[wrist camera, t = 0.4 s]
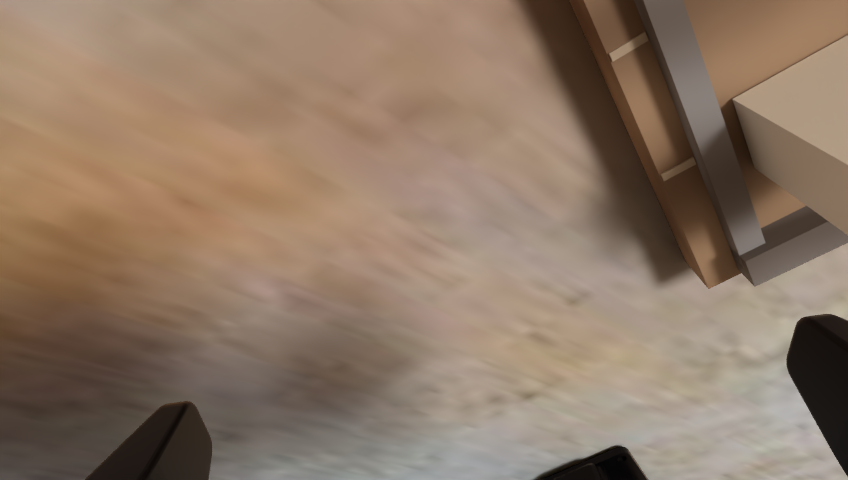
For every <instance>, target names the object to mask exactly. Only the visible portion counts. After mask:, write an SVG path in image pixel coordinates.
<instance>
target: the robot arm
mask: <svg viewBox="0 0 848 480" xmlns="http://www.w3.org/2000/svg"><path fill="white" fill-rule="evenodd" d="M787 369H788V372H789V374H790V376H791V378H792V380H793V382H794V384H795V385H796V387H797V389H798V391H799V393H800V394H801V396H802V398H803V400H804V402H805V403H806V405H807V407H808V409H809V411H810V412H811V414H812V416H813V418H814V420H815V421H816V423H817V425H818V427H819V428H820V430H821V432H822V434H823V436H824V437H825V439H826V441H827V443H828V445H829V446H830V448H831V450H832V452H833V454H834V455H835V457H836V459H837V460H838V462H839V464H840V465H841V467H842V469H843V470H844V472H845V473H846V475H847V476H848V321H847V320H845V319H843V318H840V317H838V316H835V315H832V314H823V315H815V316H808V317H803V318H801V319H800V320H799V321H798V322H797V324H796V327H795V330H794V334H793V337H792V341H791V344H790V347H789V351H788V354H787ZM211 456H212V442H211V438H210V435H209V433H208V431H207V429H206V427H205V425H204V422H203V420H202V418H201V416H200V414H199V412H198V410H197V408H196V406H195V405H194V404H193V403H192V402H189V401H184V402H177V403H170V404H165V405H163V406H161V407H160V408H159V409H157V410H156V411H155V412H154V413H153V414H152V415H151V416H150V417H149V418H148V419H147V420H146V421H145V422H144V423H143V424H142V425H141V426H140V427H139V428H138V429H137V430H136V431H135V432H134V433H133V434H132V435H131V436H130V437H128V438H127V439H126V440H125V441H124V442H123V443H122V444H121V445H120V446H119V447H118V448H117V449H116V450H115V451H114V452H113V453H112V454H111V455H110V456H109V457H108V458H107V459H106V460H105V461H104V462H103V463H102V464H101V465H100V466H99V467H98V468H96V469H95V470H94V471H93V472H92V473H91V474H90V475H89V476H88V477H87V478H86V479H85V480H208V479H209V471H210V464H211ZM543 480H648V478H647V477H646V476H645V474H644V473H643V471H642V470H641V468H640V467H639V465H638V464H637V462H636V461H635V459H634V458H633V456H632V455H631V453H630V452H629V450H628V449H627V448H625V447H618V448H615V449H613V450H610V451H608V452H606V453H603V454H601V455H599V456H596V457H594V458H592V459H589V460H587V461H585V462H582V463H580V464H578V465H575V466H573V467H571V468H568V469H566V470H564V471H561V472H559V473H557V474H554V475H552V476H550V477H547V478H545V479H543Z"/></svg>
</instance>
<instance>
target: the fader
mask: <svg viewBox="0 0 848 480" xmlns="http://www.w3.org/2000/svg"><path fill="white" fill-rule="evenodd" d="M732 100H733V103H734V106H735V109H736V112H737V115H738V118H739V121H740V124H741V127H742V130H743V134H744V137H745V140H746V143H747V146H748V149H749V152H750V155H751V158H752V161H753V164H754V168H755V169H757V170H758V171H759V172H761V173H762V174H763V175H765V176H766V177H768V178H769V179H770V180H772V181H773V182H775V183H776V184H777V185H779V186H780V187H781V188H783V189H784V190H786V191H787V192H788V193H790V194H791V195H793V196H794V197H795V198H797V199H798V200H800V201H801V202H802V203H804V204H805V205H806V206H808V207H809V208H811V209H812V210H813V211H815V212H816V213H818V214H819V215H820V216H822V217H823V218H824V219H826V220H827V221H829V222H830V223H831V224H833V225H834V226H836V227H837V228H838V229H840V230H841V231H843V232H844V233H845V234H847V235H848V35H847V36H845V37H843V38H841V39H840V40H838V41H836V42H834V43H832V44H831V45H829V46H827V47H825V48H823V49H822V50H820V51H818V52H816V53H814V54H813V55H811V56H809V57H807V58H805V59H804V60H802V61H800V62H798V63H796V64H795V65H793V66H791V67H789V68H787V69H786V70H784V71H782V72H780V73H778V74H777V75H775V76H773V77H771V78H769V79H768V80H766V81H764V82H762V83H760V84H759V85H757V86H755V87H753V88H751V89H750V90H748V91H746V92H744V93H742V94H741V95H739V96H737V97H735V98H733V99H732Z"/></svg>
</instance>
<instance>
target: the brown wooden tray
mask: <svg viewBox="0 0 848 480" xmlns="http://www.w3.org/2000/svg"><path fill="white" fill-rule="evenodd" d="M569 1H570V4H571V6H572V8H573V10H574V12H575V15H576V17H577V19H578V21H579V24H580V26H581V28H582V30H583V33H584V35H585V37H586V39H587V42H588V44H589V46H590V48H591V51H592V53H593V55H594V57H595V60H596V62H597V64H598V66H599V68H600V71H601V73H602V75H603V77H604V80H605V82H606V84H607V86H608V89H609V91H610V93H611V95H612V98H613V100H614V102H615V104H616V107H617V109H618V111H619V113H620V116H621V118H622V120H623V122H624V124H625V127H626V129H627V131H628V133H629V136H630V138H631V140H632V142H633V145H634V147H635V149H636V151H637V154H638V156H639V158H640V160H641V163H642V165H643V167H644V169H645V171H646V174H647V176H648V178H649V180H650V183H651V185H652V187H653V189H654V192H655V194H656V196H657V198H658V201H659V203H660V205H661V207H662V210H663V212H664V214H665V216H666V219H667V221H668V223H669V225H670V227H671V230H672V232H673V234H674V236H675V239H676V241H677V243H678V245H679V248H680V250H681V252H682V254H683V257H684V259H685V261H686V263H687V264H688V265H689V266H690V267H691V268H692V270H693V271H694V272H695V273H696V274H697V276H698V277H699V278H700V279H701V280H702V282H703V283H704V284H705V285H706V286H707V287H708V289H709V288H711V287H713V286H716V285H718V284H720V283H722V282H724V281H726V280H728V279H730V278H732V277H734V276H736V275H738V274H741V273H742V274H743V275H744V276H745V277H746V278H747V279H748V280H749V281H750V282H751V283H752V284H753V285H754V286H757V285H759V284H761V283H763V282H766V281H768V280H770V279H772V278H774V277H776V276H778V275H780V274H783V273H785V272H787V271H789V270H791V269H793V268H795V267H797V266H799V265H802V264H804V263H806V262H808V261H810V260H812V259H814V258H816V257H819V256H821V255H823V254H825V253H827V252H829V251H831V250H833V249H835V248H838V247H840V246H842V245H844V244H846V243H848V235H847V234H845V233H844V232H843V231H841V230H840V229H838V228H837V227H836V226H834V225H833V224H831V223H830V222H829V221H827V220H826V219H824V218H823V217H822V216H820V215H819V214H818V213H816V212H815V211H813V210H812V209H811V208H809V207H808V206H806V205H805V204H804V203H802V202H801V201H800V200H798V199H797V198H795V197H794V196H793V195H791V194H790V193H788V192H787V191H786V190H784V189H783V188H781V187H780V186H779V185H777V184H776V183H775V182H773V181H772V180H770V179H769V178H768V177H766V176H765V175H763V174H762V173H761V172H759V171H758V170H757V169H755V168H754V164H753V161H752V158H751V155H750V152H749V149H748V146H747V143H746V140H745V137H744V134H743V130H742V127H741V124H740V121H739V118H738V115H737V112H736V109H735V106H734V103H733V100H732V99H733V98H735V97H737V96H739V95H741V94H742V93H744V92H746V91H748V90H750V89H751V88H753V87H755V86H757V85H759V84H760V83H762V82H764V81H766V80H768V79H769V78H771V77H773V76H775V75H777V74H778V73H780V72H782V71H784V70H786V69H787V68H789V67H791V66H793V65H795V64H796V63H798V62H800V61H802V60H804V59H805V58H807V57H809V56H811V55H813V54H814V53H816V52H818V51H820V50H822V49H823V48H825V47H827V46H829V45H831V44H832V43H834V42H836V41H838V40H840V39H841V38H843V37H845V36H847V35H848V0H569Z"/></svg>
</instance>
